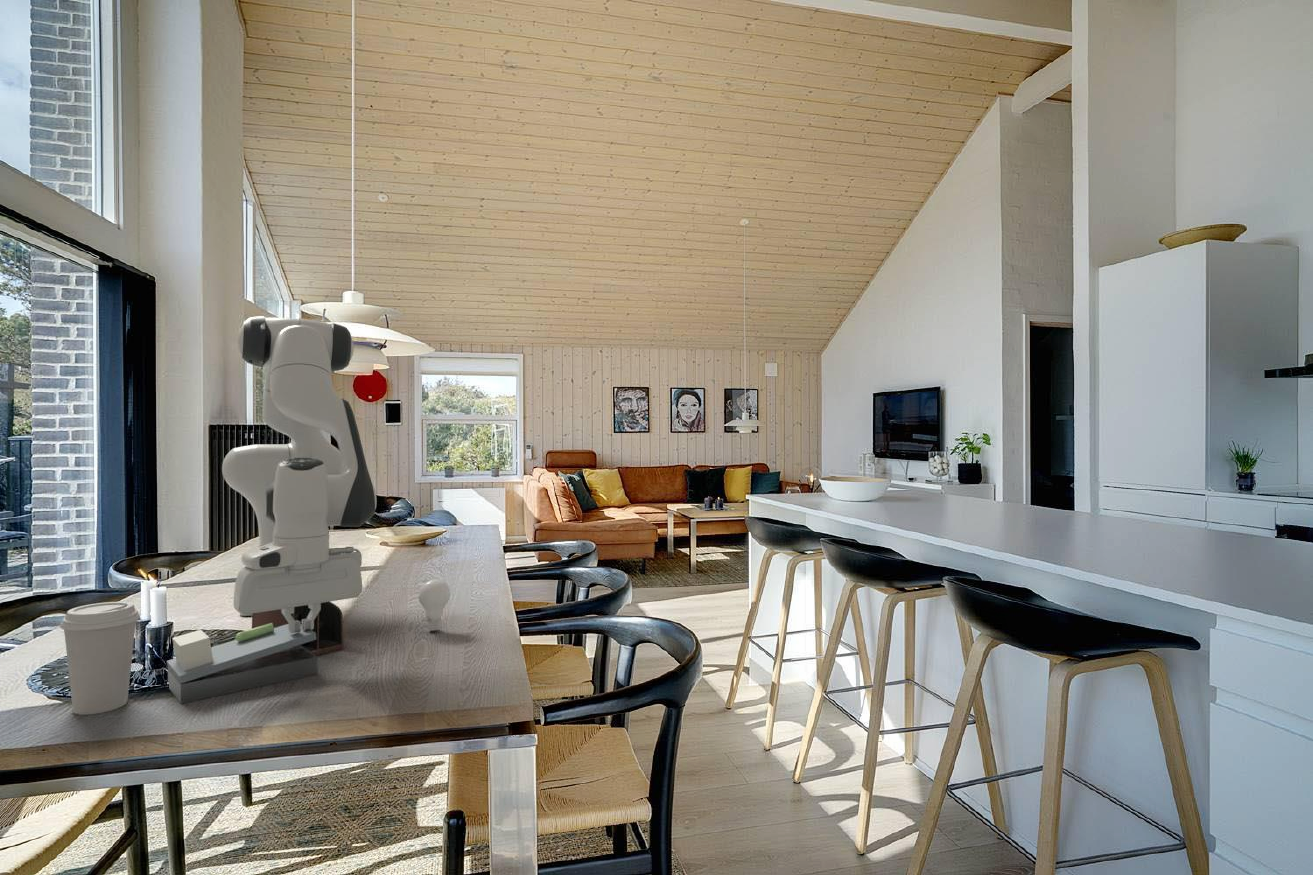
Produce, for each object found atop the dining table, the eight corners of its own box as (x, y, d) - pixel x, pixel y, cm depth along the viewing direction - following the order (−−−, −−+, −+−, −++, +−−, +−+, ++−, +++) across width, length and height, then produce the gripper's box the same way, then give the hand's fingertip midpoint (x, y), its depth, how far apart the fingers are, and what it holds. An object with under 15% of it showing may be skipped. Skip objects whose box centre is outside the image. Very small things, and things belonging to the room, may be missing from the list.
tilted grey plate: (167, 667, 115) (162, 637, 115) (297, 627, 129) (293, 600, 129) (180, 683, 108) (174, 651, 108) (316, 639, 122) (312, 610, 121)
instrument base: (167, 686, 115) (167, 668, 115) (298, 660, 129) (298, 643, 129) (180, 703, 108) (180, 684, 108) (317, 673, 122) (317, 656, 122)
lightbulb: (411, 633, 147) (412, 581, 147) (432, 626, 153) (432, 575, 153) (436, 637, 145) (436, 583, 145) (456, 629, 151) (456, 577, 150)
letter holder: (289, 662, 129) (290, 585, 129) (250, 640, 142) (250, 570, 142) (344, 650, 136) (344, 577, 136) (302, 630, 149) (302, 564, 149)
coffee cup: (74, 724, 100) (75, 619, 100) (48, 709, 105) (49, 609, 105) (151, 702, 108) (151, 605, 108) (123, 690, 114) (123, 597, 113)
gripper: (354, 543, 132) (354, 616, 132) (230, 555, 118) (230, 638, 118) (368, 547, 128) (368, 623, 128) (241, 560, 114) (240, 646, 114)
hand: (301, 630), depth 123 cm, fingers closed
